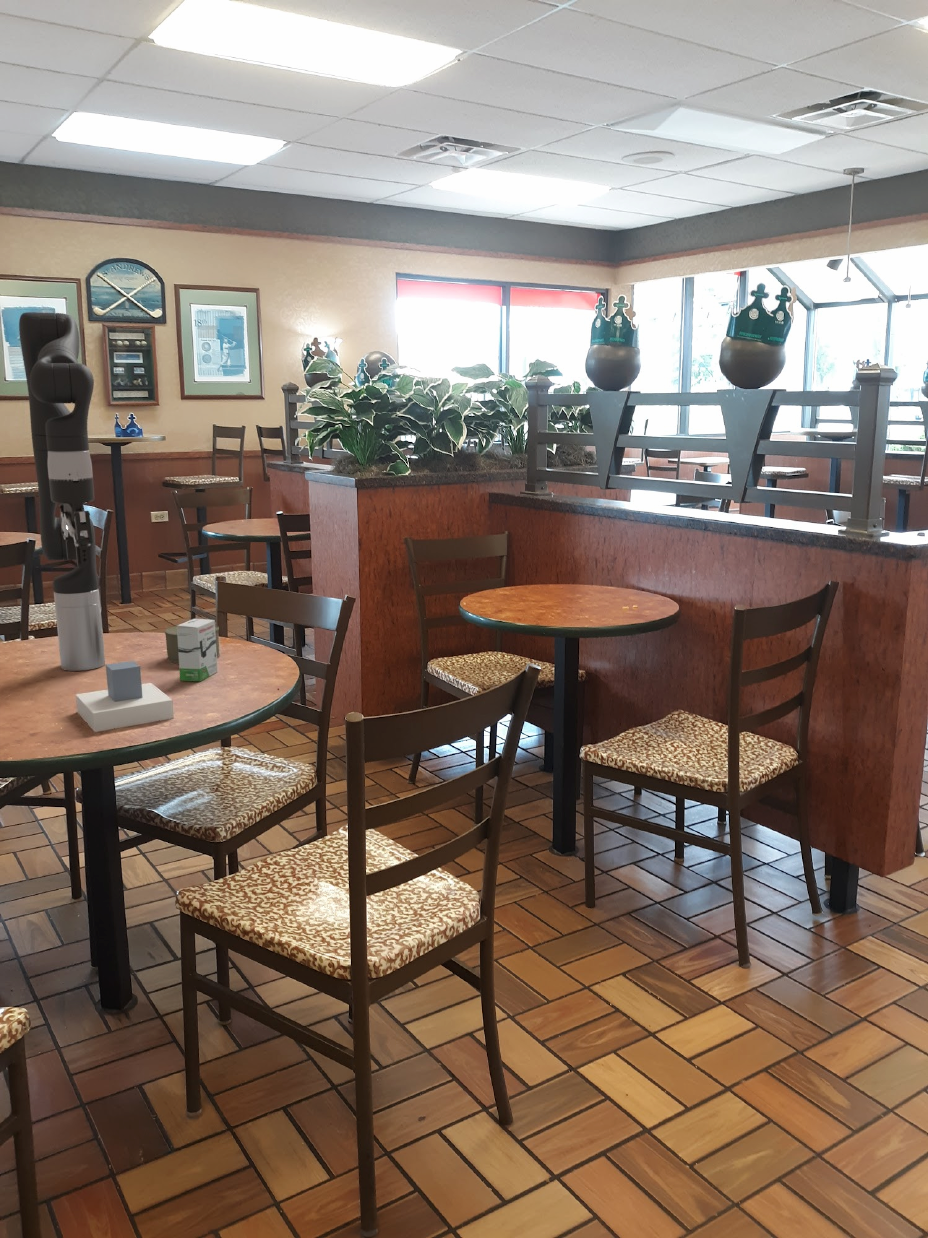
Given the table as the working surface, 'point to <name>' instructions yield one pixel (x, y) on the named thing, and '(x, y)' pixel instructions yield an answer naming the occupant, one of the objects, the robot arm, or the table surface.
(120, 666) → the slate block
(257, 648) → the table surface
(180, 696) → the table surface
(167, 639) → the can
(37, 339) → the robot arm
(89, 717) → the white square slab
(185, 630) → the ink box
